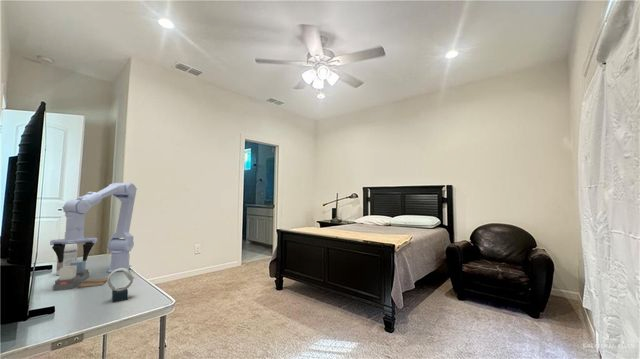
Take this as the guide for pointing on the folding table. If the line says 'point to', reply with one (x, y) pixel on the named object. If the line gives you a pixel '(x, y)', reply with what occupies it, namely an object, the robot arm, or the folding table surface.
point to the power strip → (71, 281)
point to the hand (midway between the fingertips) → (73, 261)
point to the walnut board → (93, 282)
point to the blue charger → (79, 265)
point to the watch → (120, 293)
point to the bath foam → (67, 256)
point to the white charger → (68, 272)
